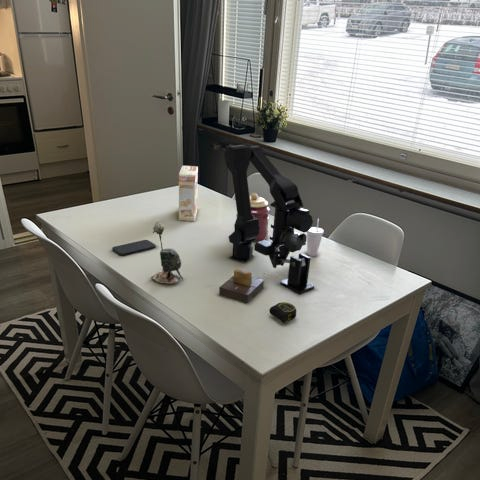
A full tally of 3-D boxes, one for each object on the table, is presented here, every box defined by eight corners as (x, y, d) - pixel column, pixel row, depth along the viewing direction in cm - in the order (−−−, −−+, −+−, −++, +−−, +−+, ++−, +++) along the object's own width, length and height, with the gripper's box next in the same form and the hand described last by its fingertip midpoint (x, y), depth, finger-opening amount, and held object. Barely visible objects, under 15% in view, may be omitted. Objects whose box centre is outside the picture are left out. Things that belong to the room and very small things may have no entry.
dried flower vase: (170, 290, 161) (169, 230, 151) (147, 278, 168) (145, 220, 157) (189, 282, 167) (189, 224, 156) (166, 271, 173) (165, 214, 163)
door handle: (272, 266, 172) (271, 256, 171) (279, 263, 174) (278, 254, 173) (300, 268, 162) (299, 258, 161) (307, 266, 164) (305, 256, 163)
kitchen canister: (230, 238, 202) (232, 194, 193) (242, 228, 212) (244, 186, 203) (260, 244, 198) (264, 200, 189) (271, 234, 208) (275, 191, 199)
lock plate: (247, 303, 157) (248, 294, 155) (219, 295, 160) (219, 286, 159) (263, 288, 166) (264, 279, 165) (236, 280, 170) (236, 272, 168)
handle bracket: (279, 284, 169) (283, 254, 164) (294, 279, 173) (298, 249, 168) (299, 295, 164) (303, 264, 158) (314, 289, 168) (318, 259, 162)
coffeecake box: (194, 221, 216) (195, 175, 206) (178, 220, 216) (177, 174, 206) (197, 209, 229) (198, 166, 219) (182, 208, 229) (181, 165, 219)
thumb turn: (233, 282, 162) (234, 270, 160) (235, 280, 163) (236, 268, 161) (248, 286, 160) (249, 274, 158) (251, 284, 161) (251, 272, 159)
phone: (157, 245, 189) (121, 254, 181) (157, 247, 190) (121, 256, 181) (146, 239, 194) (110, 247, 185) (146, 241, 194) (111, 249, 186)
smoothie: (319, 258, 190) (325, 222, 182) (302, 256, 191) (307, 220, 183) (320, 251, 195) (326, 216, 188) (304, 249, 196) (308, 214, 189)
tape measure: (267, 315, 151) (268, 304, 149) (285, 310, 154) (286, 299, 153) (281, 326, 146) (283, 315, 144) (300, 320, 150) (301, 309, 148)
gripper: (279, 236, 154) (274, 282, 162) (320, 224, 165) (314, 268, 173) (254, 225, 161) (251, 270, 169) (295, 214, 172) (290, 257, 180)
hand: (278, 266), depth 172 cm, fingers closed on door handle, 3 cm apart
